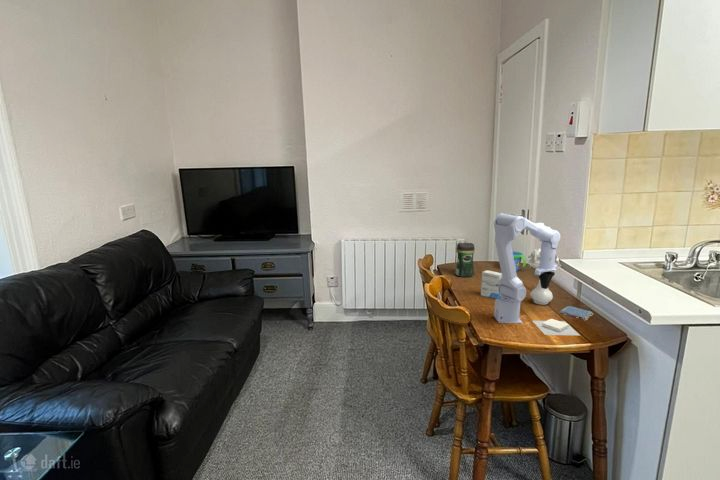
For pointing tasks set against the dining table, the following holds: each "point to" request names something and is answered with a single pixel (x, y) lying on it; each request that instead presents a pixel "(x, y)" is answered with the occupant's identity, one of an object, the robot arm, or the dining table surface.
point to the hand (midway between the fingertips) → (544, 288)
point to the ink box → (490, 284)
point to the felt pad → (552, 332)
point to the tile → (555, 325)
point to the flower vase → (539, 293)
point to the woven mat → (576, 312)
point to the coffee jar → (465, 259)
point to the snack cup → (518, 259)
